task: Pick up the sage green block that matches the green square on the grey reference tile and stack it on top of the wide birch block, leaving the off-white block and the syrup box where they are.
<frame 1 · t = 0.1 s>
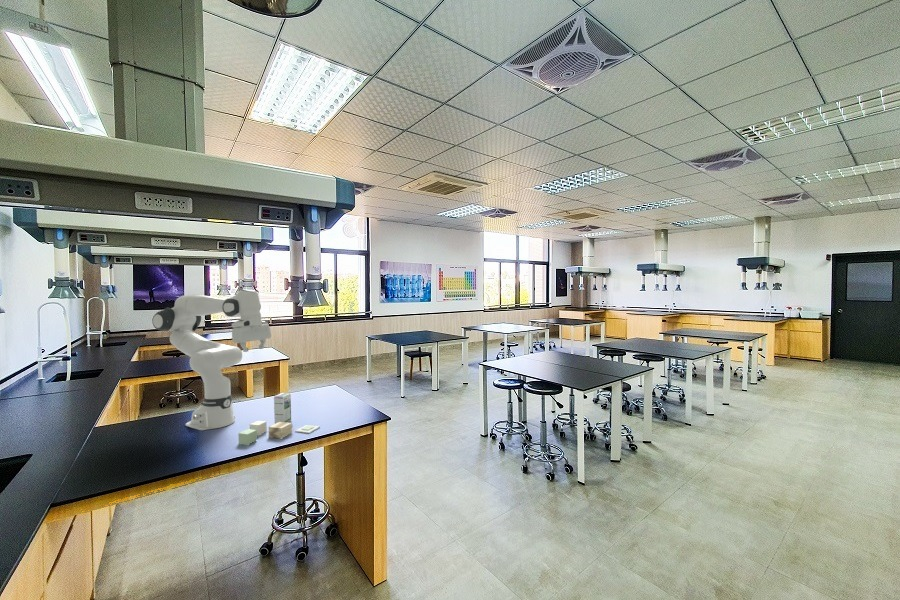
hand: (254, 350, 176), 39 cm above the lab bench, tool pointing down, fingers open, 8 cm apart
off-white block: (258, 433, 171), on the lab bench
birch base block: (280, 435, 169), on the lab bench
syrup box: (282, 422, 185), on the lab bench
sage block: (247, 442, 161), on the lab bench
reference tile: (307, 429, 175), on the lab bench
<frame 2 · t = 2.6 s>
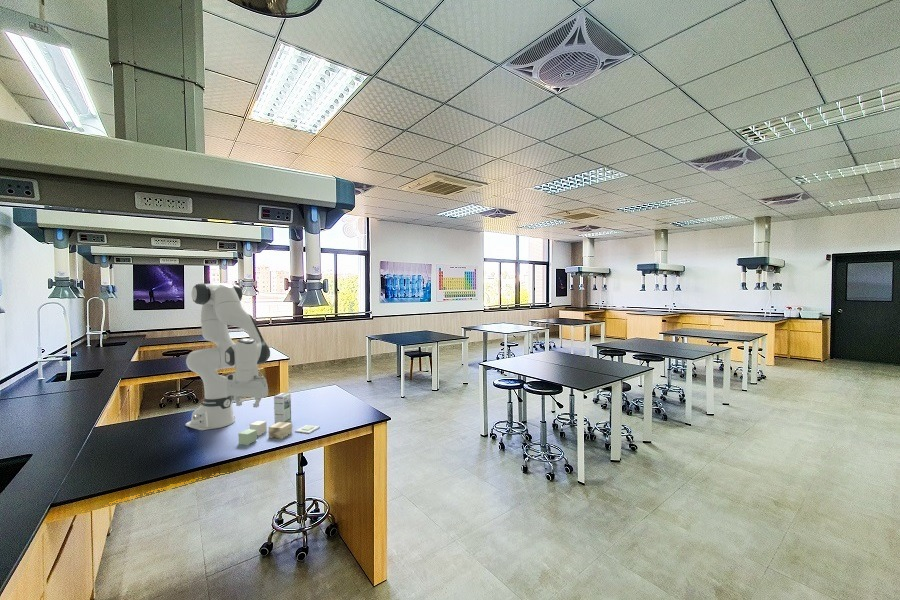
hand: (247, 406, 160), 16 cm above the lab bench, tool pointing down, fingers open, 8 cm apart
nothing on the lab bench moved.
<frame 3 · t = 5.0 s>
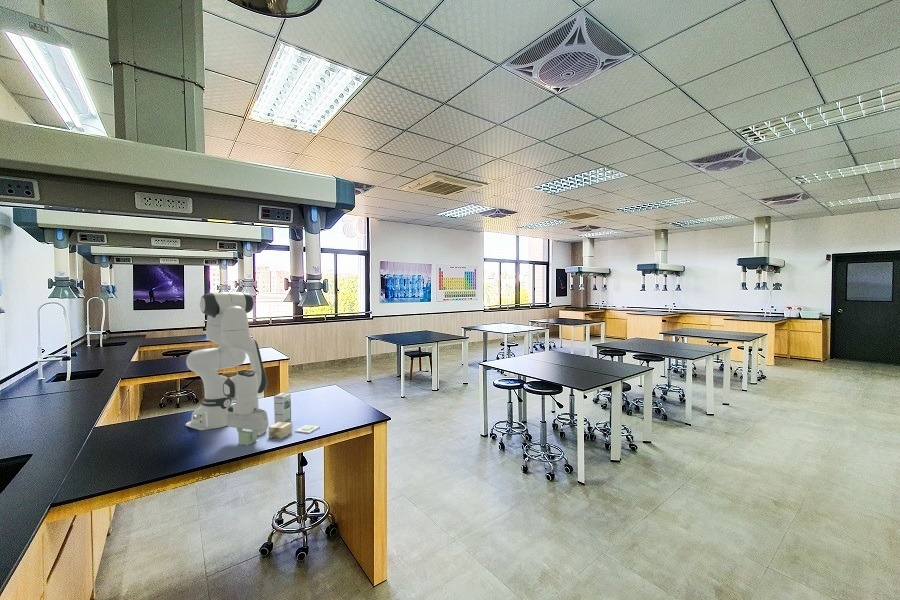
hand: (247, 438, 161), 2 cm above the lab bench, tool pointing down, fingers closed on sage block, 5 cm apart
sage block: (247, 442, 161), on the lab bench, touching gripper
everything else where it was.
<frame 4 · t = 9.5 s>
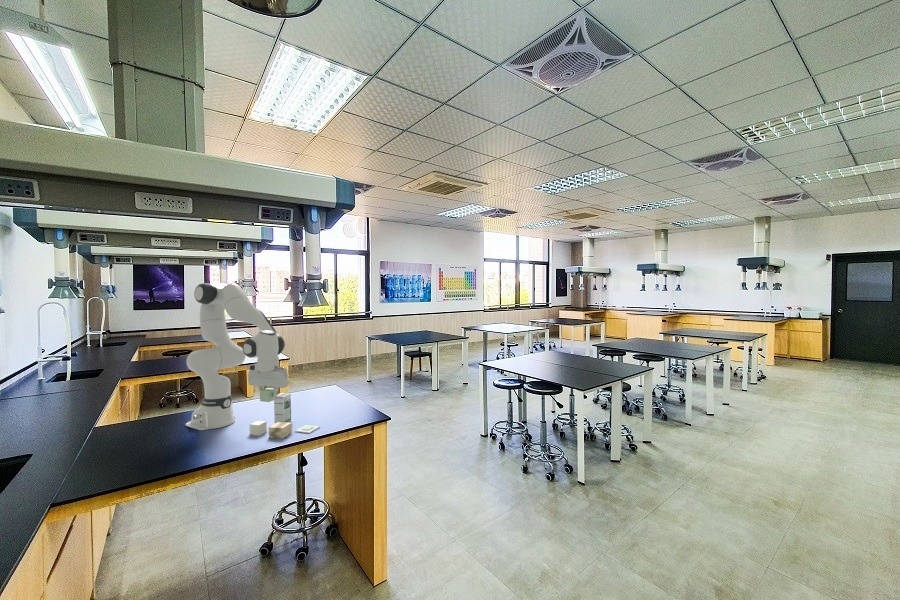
hand: (268, 395, 165), 19 cm above the lab bench, tool pointing down, fingers closed on sage block, 5 cm apart
sage block: (268, 400, 165), point 17 cm above the lab bench, touching gripper
everything else where it was.
when the fingers open (8 cm above the lab bench, at t = 13.9 s): sage block drops 1 cm, resting on birch base block.
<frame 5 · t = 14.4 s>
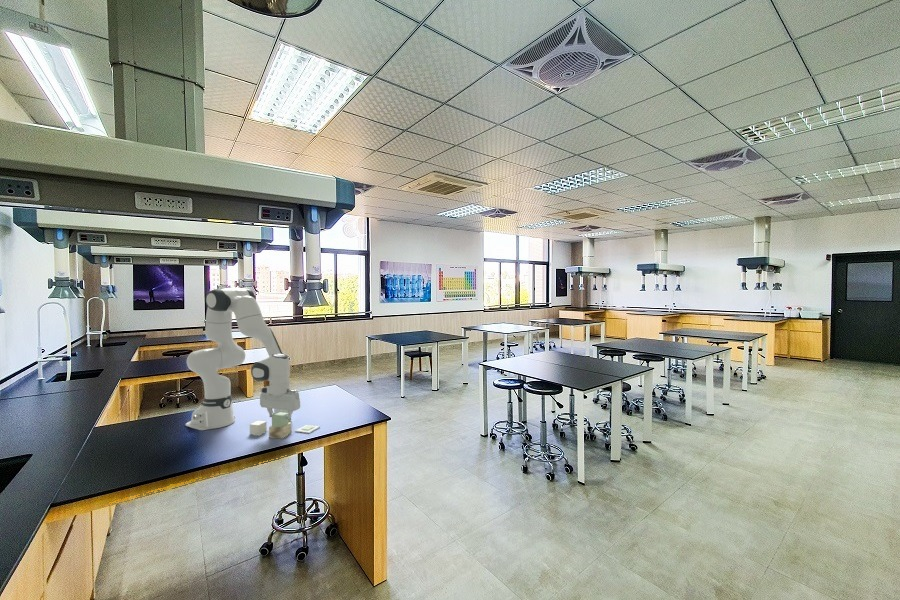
hand: (280, 417, 169), 8 cm above the lab bench, tool pointing down, fingers open, 8 cm apart
birch base block: (280, 435, 169), on the lab bench, touching sage block
sage block: (280, 424, 169), point 5 cm above the lab bench, touching birch base block
everything else where it was.
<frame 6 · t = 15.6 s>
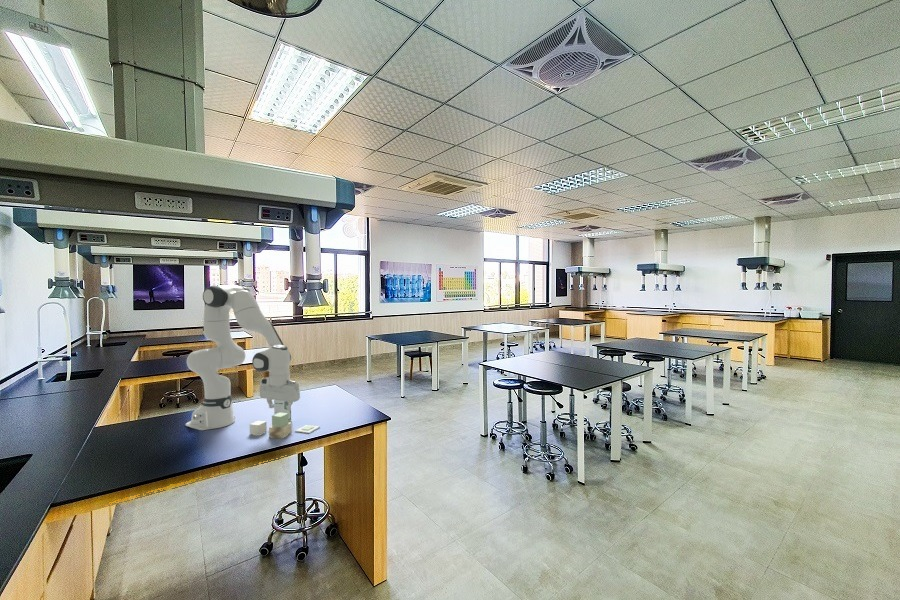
hand: (279, 409, 169), 12 cm above the lab bench, tool pointing down, fingers open, 8 cm apart
birch base block: (280, 435, 169), on the lab bench
sage block: (280, 425, 169), point 5 cm above the lab bench
everything else where it was.
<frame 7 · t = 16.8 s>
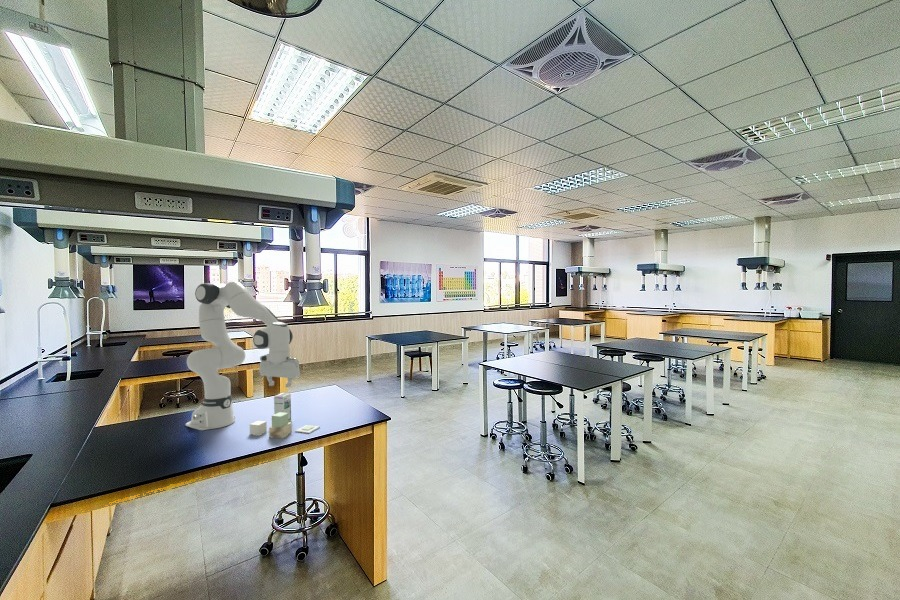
hand: (279, 386, 169), 23 cm above the lab bench, tool pointing down, fingers open, 8 cm apart
birch base block: (280, 435, 169), on the lab bench, touching sage block
sage block: (280, 424, 169), point 5 cm above the lab bench, touching birch base block
everything else where it was.
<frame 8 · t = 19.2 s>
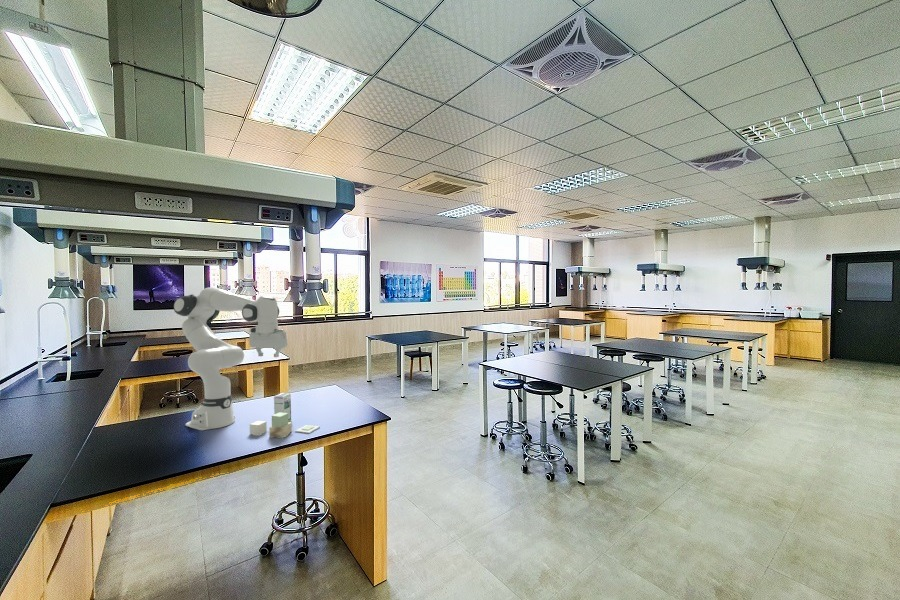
hand: (268, 356, 179), 35 cm above the lab bench, tool pointing down, fingers open, 8 cm apart
nothing on the lab bench moved.
at the end: sage block 0.4 cm off-centre on the birch base block, point 5.0 cm above the birch base block's base; sage block tilted 0°; the gripper is holding nothing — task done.
